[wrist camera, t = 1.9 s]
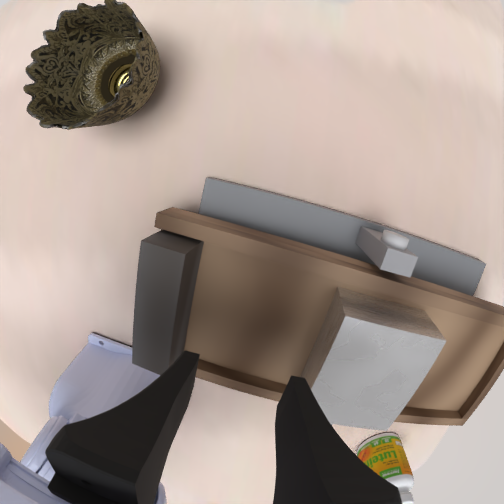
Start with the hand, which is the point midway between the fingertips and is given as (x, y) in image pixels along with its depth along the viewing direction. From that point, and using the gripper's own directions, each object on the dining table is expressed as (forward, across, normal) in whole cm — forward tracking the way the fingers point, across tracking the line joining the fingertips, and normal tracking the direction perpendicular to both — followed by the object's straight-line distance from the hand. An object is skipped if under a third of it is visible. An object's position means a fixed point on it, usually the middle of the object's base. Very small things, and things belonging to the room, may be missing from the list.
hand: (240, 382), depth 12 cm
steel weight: (+5, -7, 0) cm, 9 cm away
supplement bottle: (+11, -19, +17) cm, 28 cm away
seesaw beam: (+6, -7, 0) cm, 9 cm away
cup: (+11, +12, -12) cm, 20 cm away
